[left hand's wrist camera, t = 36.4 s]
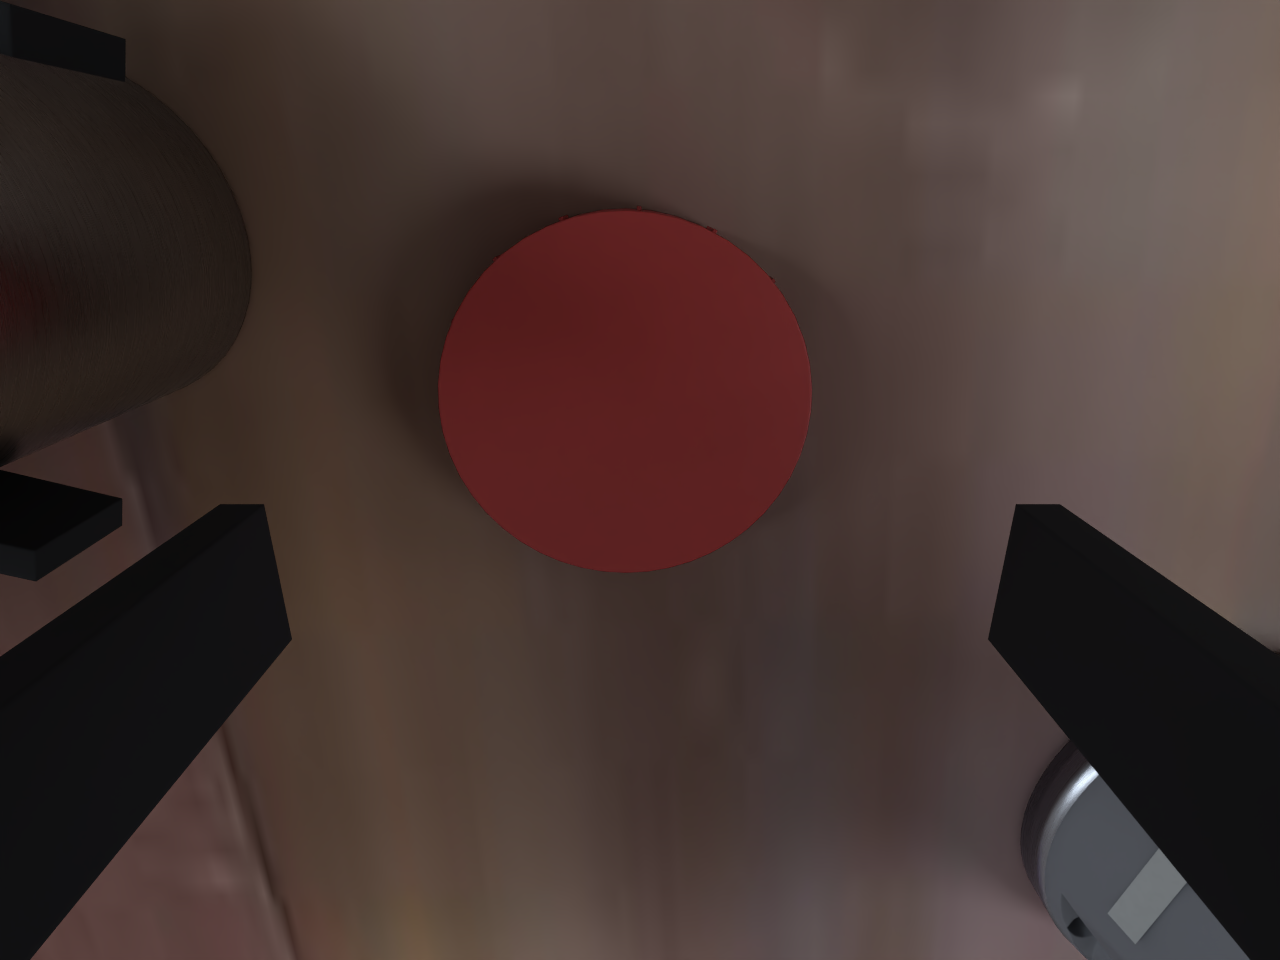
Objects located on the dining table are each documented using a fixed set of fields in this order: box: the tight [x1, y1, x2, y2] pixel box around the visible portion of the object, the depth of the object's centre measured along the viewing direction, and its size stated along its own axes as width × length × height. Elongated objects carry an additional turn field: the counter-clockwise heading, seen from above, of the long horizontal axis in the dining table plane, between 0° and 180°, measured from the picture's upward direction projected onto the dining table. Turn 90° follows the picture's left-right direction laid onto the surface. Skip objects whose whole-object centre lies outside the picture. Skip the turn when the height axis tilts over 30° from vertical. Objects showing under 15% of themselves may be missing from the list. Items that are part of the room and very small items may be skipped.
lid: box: [438, 206, 812, 573], centre depth 21 cm, size 10×10×2 cm
